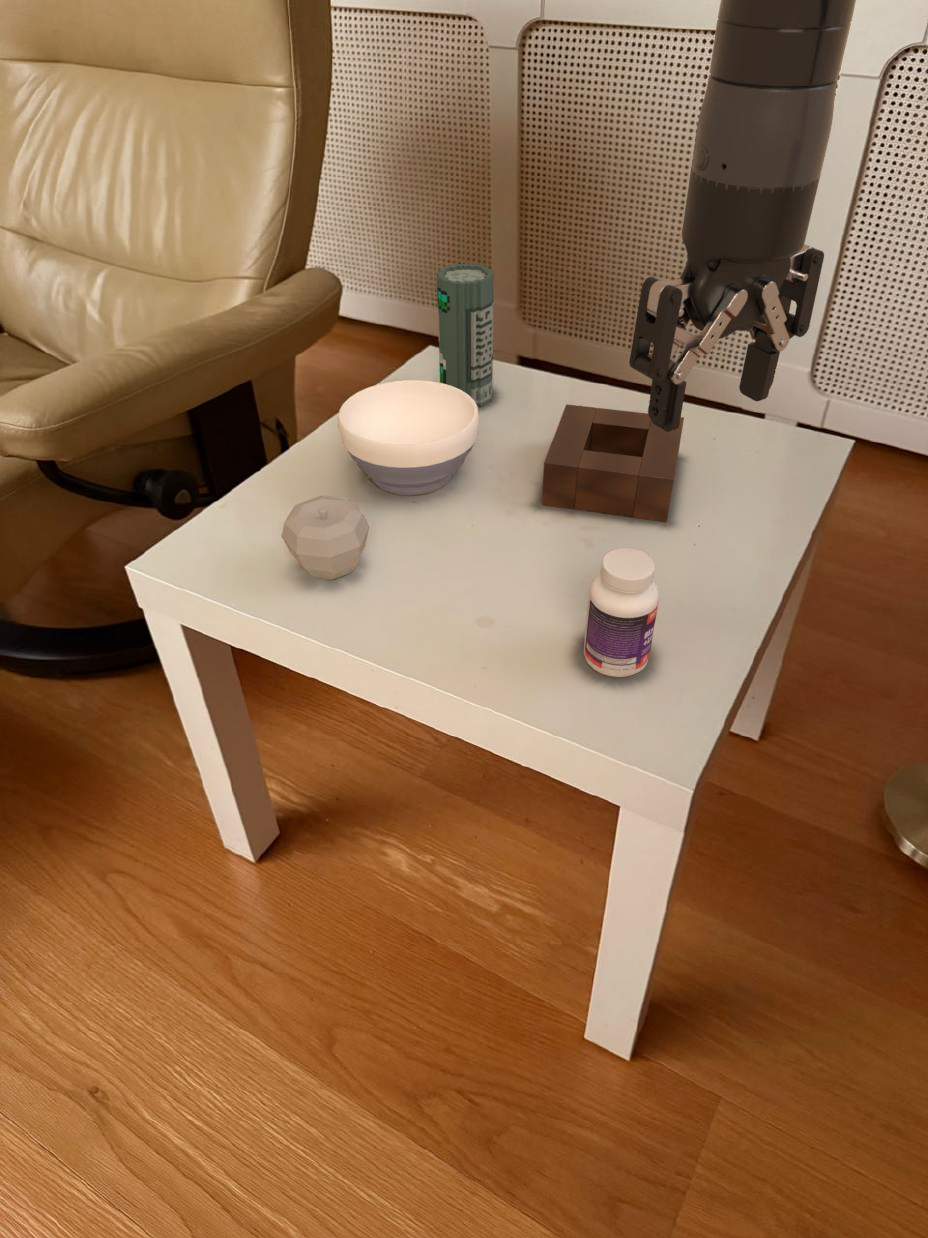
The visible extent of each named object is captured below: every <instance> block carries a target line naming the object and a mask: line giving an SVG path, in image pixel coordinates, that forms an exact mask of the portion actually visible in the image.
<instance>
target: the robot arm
mask: <svg viewBox="0 0 928 1238" xmlns="http://www.w3.org/2000/svg"><path fill="white" fill-rule="evenodd" d="M856 1H857V0H720V2H719V7H718V8H719V9H718V13H717V20H716V26H715V34H714V40H713V46H712V47H713V48H712V52H711V53H712V55H711V61H710V66H709V75H708V79H707V84H706V89H705V93H704V98H703V100H702V104H701V108H700V111H699V116H698V121H697V126H696V133H695V139H694V147H693V153H692V161H691V165H690V166H691V167H690V174H689V181H688V187H687V188H688V189H687V195H686V202H685V207H684V216H683V222H682V230H681V238H682V239H681V240H682V241H683V244H684V246H685V250H686V254H687V258H686V259H687V260H686V263H685V266H684V269H683V271H682V272H681V275H680V276H679V278H677V279H672V280H671V279H670V280H666V281H663V280H662V279H658V278H657V277H654V276H649V277H647V278H646V279H645V280H644V281H643V283H642V284H641V289H640V296H639V302H638V307H637V313H636V319H635V324H634V325H635V326H634V331H633V337H632V344H631V350H630V356H629V361H628V362H629V364H628V365H629V367H630V368H632V369H633V370H635V371H637V372H638V373H640V374H642V375H644V376H645V377H646V378H649V379H651V387H650V394H649V402H648V404H649V405H648V407H647V413H648V415H649V418H650V419H651V420H652V422H653V423H654V424H655V425H656V426H658V427H660V428H661V429H663V430H664V431H666V432H670V431H673V430H676V429H678V428H679V425H680V419H681V417H682V413H683V406H684V400H685V393H686V388H687V381H686V379H687V377H688V375H689V374H690V372H691V370H692V369H693V367H694V366H695V365H696V363H697V362H698V360H699V358H701V357H704V356H707V355H709V353H710V352H711V351H712V349H713V348H714V346H715V345H716V344H717V341H718V340H719V339H724V338H726V337H728V336H730V335H732V334H733V333H735V332H736V331H739V332H745V331H748V332H749V335H750V337H751V339H752V340H754V342H751V343H748V344H747V347H746V351H745V352H746V353H745V357H744V363H743V367H742V371H741V376H740V381H739V386H738V388H739V392H740V393H741V394H742V395H743V396H745V397H747V398H749V399H751V400H753V401H754V402H760V401H764V400H766V399H767V398H768V397H769V394H770V389H771V387H772V386H773V383H774V380H775V375H776V370H777V367H778V363H779V358H780V354H781V352H783V351H784V350H785V349H786V348H787V346H789V343H790V340H791V339H792V338H793V337H795V336H796V337H798V338H802V337H804V336H805V335H806V334H807V333H808V332H809V329H810V325H811V320H812V316H813V315H812V314H813V311H814V306H815V301H816V297H817V292H818V287H819V282H820V277H821V274H822V269H823V264H824V259H825V253H824V251H823V250H820V249H817V248H815V247H814V246H810V245H808V244H805V242H806V239H807V235H808V229H809V226H810V221H811V217H812V213H813V208H814V205H815V200H816V196H817V192H818V188H819V183H820V179H821V175H822V170H823V167H824V162H825V157H826V153H827V149H828V145H829V139H830V136H831V131H832V126H833V119H834V112H835V111H834V110H835V101H836V100H835V99H836V91H837V87H838V86H837V85H838V79H839V76H840V73H841V68H842V63H843V61H844V55H845V51H846V47H847V43H848V37H849V33H850V29H851V24H852V21H853V17H854V11H855V6H856ZM792 301H793V302H795V305H796V306H795V312H794V313H791V312H790V310H791V307H792V306H791V305H792ZM690 321H691V324H692V325H693V327H694V328H695V329H697V330H698V331H700V333H698V334H692V333H690V332H688V331H686V327H687V326H688V324H689V322H690ZM651 345H653V346H652V353H650V351H651ZM680 347H683V348H684V349H683V350H682V352H681V353H680V354H679V356H678V358H677V359H676V361H674V360H673V359H672V358H673V357H674V355H675V354H676V352H677V351H678V349H679V348H680Z"/></svg>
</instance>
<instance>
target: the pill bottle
mask: <svg viewBox="0 0 928 1238" xmlns="http://www.w3.org/2000/svg"><path fill="white" fill-rule="evenodd" d="M655 570H656V564H655V561H654V559H653V557H651V556H650V555H649V554H648V553H646V552H644V551H642V550H638V549H635V548H628V547H626V548H625V547H624V548H623V547H621V548H616V549H613V550H611V551H609V552H607V553H606V554H605V555H604V556H603V558H602V561H601V565H600V573H599V574H598V575H596V577H595V578H594V579H593V580H592V582H591V584H590V587H589V594H588V601H587V613H586V623H585V632H584V639H583V641H584V643H583V644H584V645H583V656H584V659H585V661H586V663H587V665H589V667H590V668H592V669H593V670H595V671H596V672H597V673H600V674H602V675H603V676H608V677H613V678H623V677H630V676H633V675H635V674H638V673H639V672H641V671H643V670H644V669H645V668H646V666H647V664H648V662H649V658H650V654H651V650H652V649H651V648H652V643H653V639H654V631H655V625H656V621H657V614H658V609H659V608H658V607H659V604H660V591H659V588H658V586H657V583H655V581H654V578H655Z"/></svg>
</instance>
